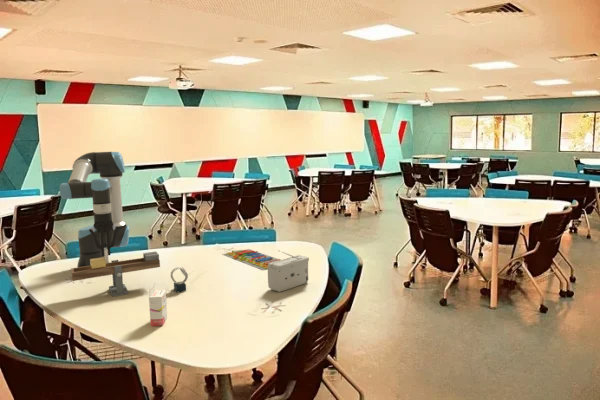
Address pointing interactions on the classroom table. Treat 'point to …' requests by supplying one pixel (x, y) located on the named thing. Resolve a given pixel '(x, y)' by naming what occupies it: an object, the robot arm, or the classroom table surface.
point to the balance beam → (127, 266)
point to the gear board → (252, 258)
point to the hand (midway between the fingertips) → (106, 262)
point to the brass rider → (97, 263)
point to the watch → (181, 285)
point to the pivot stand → (118, 282)
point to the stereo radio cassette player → (288, 273)
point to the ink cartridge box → (157, 306)
